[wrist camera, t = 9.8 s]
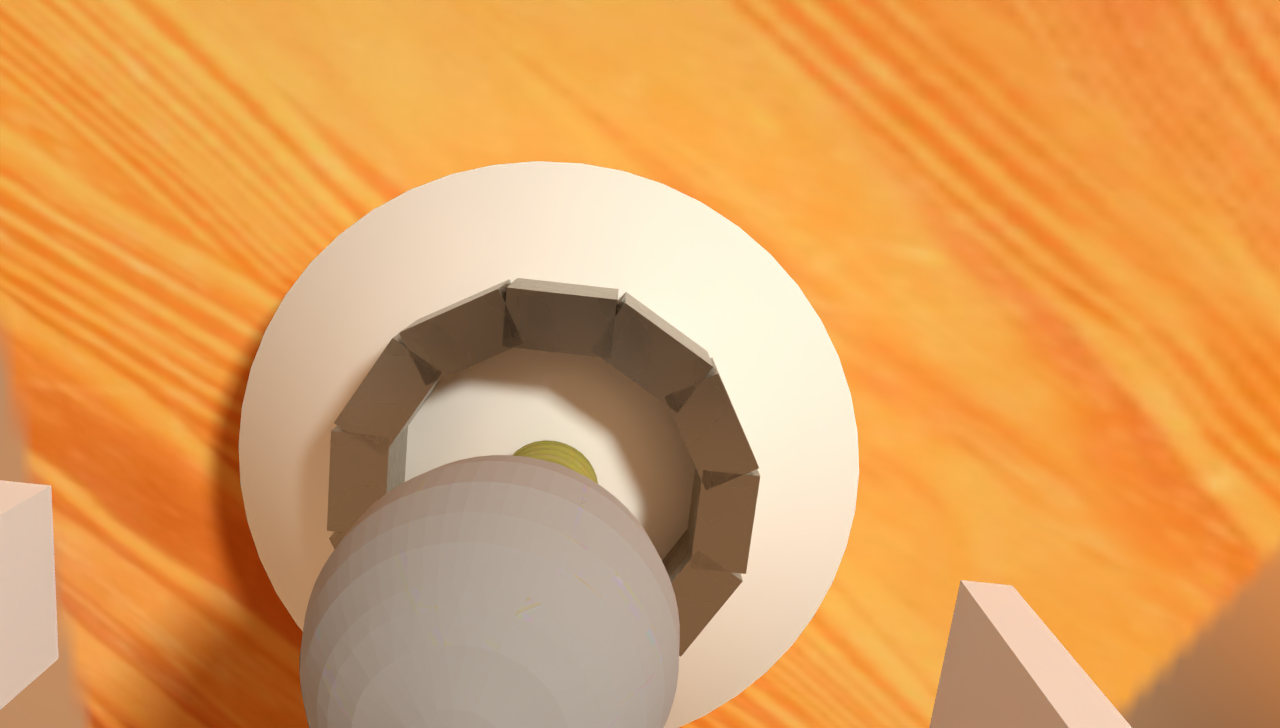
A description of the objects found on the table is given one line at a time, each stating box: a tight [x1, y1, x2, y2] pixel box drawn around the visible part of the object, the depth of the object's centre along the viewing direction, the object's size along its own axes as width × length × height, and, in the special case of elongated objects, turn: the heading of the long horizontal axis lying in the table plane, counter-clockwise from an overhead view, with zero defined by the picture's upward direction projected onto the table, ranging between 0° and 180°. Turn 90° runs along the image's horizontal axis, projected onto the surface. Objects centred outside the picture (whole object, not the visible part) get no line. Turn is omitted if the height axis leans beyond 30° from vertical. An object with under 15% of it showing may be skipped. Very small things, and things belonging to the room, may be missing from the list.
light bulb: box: [300, 440, 680, 728], centre depth 16 cm, size 6×5×10 cm
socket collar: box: [327, 278, 760, 657], centre depth 20 cm, size 9×9×2 cm
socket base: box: [239, 161, 859, 728], centre depth 22 cm, size 14×14×2 cm
